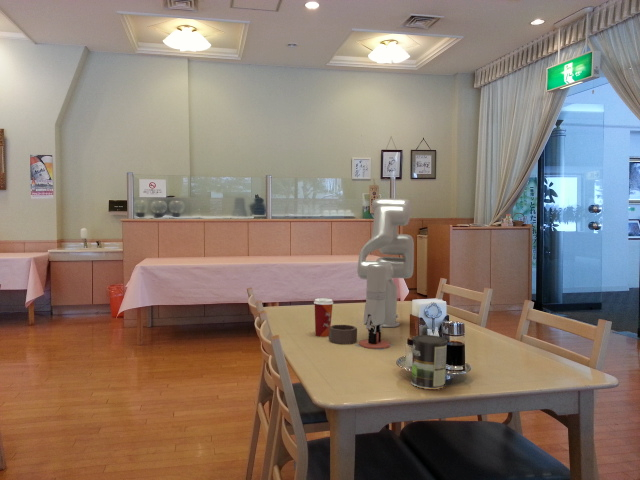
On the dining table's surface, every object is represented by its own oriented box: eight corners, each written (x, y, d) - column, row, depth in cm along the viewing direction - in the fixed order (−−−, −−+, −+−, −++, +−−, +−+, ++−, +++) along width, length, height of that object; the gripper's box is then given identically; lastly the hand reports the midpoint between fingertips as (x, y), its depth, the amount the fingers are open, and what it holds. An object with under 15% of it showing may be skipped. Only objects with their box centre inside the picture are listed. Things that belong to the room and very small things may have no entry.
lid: (367, 339, 218) (367, 327, 218) (395, 344, 212) (395, 331, 212) (353, 345, 208) (353, 333, 208) (381, 350, 202) (382, 337, 201)
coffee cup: (330, 338, 222) (331, 301, 221) (310, 336, 224) (311, 300, 223) (334, 333, 230) (335, 298, 229) (315, 332, 232) (316, 297, 231)
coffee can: (416, 390, 159) (417, 342, 158) (407, 379, 169) (409, 334, 169) (450, 390, 160) (452, 343, 159) (439, 379, 170) (441, 335, 170)
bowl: (337, 338, 222) (338, 323, 222) (360, 341, 217) (360, 327, 216) (324, 342, 213) (325, 327, 213) (347, 347, 208) (348, 331, 208)
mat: (368, 341, 217) (368, 340, 217) (393, 345, 212) (393, 344, 212) (355, 347, 208) (355, 345, 208) (381, 351, 202) (381, 350, 202)
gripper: (376, 292, 218) (375, 337, 219) (357, 297, 204) (355, 345, 205) (393, 294, 214) (392, 340, 215) (375, 299, 200) (373, 348, 201)
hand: (374, 342), depth 210 cm, fingers closed on lid, 3 cm apart
